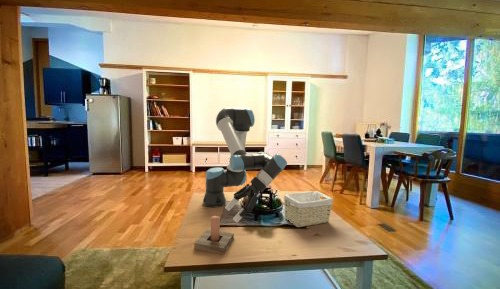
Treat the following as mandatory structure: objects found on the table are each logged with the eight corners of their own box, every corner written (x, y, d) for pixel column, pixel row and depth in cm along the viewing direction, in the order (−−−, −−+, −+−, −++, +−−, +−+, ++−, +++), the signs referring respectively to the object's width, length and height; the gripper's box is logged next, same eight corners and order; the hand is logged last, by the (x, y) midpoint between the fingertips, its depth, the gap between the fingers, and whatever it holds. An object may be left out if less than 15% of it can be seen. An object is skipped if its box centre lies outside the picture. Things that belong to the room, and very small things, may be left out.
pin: (212, 241, 124) (212, 215, 123) (220, 242, 123) (220, 216, 122) (209, 245, 121) (209, 218, 119) (217, 246, 120) (217, 219, 118)
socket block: (207, 235, 130) (207, 229, 130) (233, 239, 127) (233, 233, 127) (194, 249, 117) (194, 243, 116) (223, 254, 114) (223, 248, 113)
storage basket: (315, 212, 163) (316, 189, 161) (332, 223, 149) (334, 198, 147) (281, 218, 154) (282, 193, 152) (297, 229, 139) (298, 203, 137)
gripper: (277, 194, 115) (244, 231, 112) (256, 179, 138) (228, 209, 135) (266, 183, 112) (232, 221, 109) (247, 170, 135) (218, 200, 132)
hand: (230, 214), depth 122 cm, fingers open, 13 cm apart
